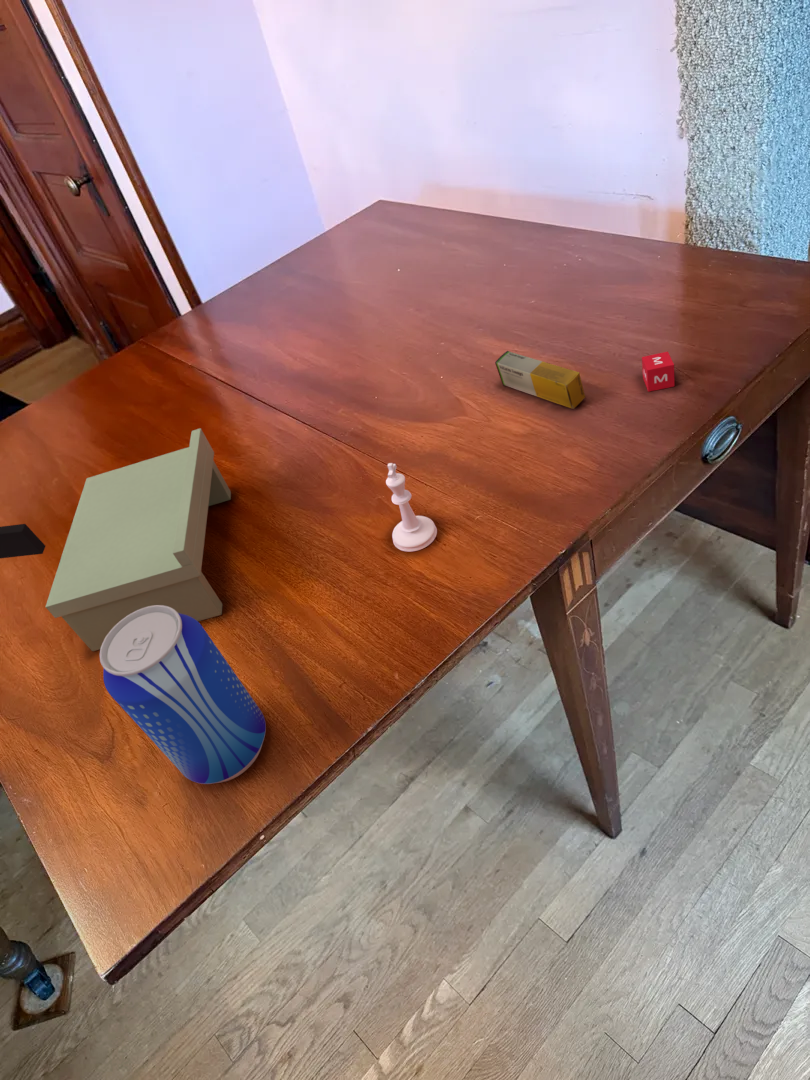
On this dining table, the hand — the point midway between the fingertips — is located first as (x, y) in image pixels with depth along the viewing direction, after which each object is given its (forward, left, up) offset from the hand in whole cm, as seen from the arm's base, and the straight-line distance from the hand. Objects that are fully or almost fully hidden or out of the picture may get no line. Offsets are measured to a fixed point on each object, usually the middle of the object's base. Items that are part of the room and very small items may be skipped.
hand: (3, 617), depth 51 cm
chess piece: (+34, -5, -23) cm, 42 cm away
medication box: (+61, -7, -23) cm, 66 cm away
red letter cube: (+66, -20, -23) cm, 73 cm away
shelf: (+20, +22, -23) cm, 37 cm away
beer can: (+5, -3, -23) cm, 24 cm away
